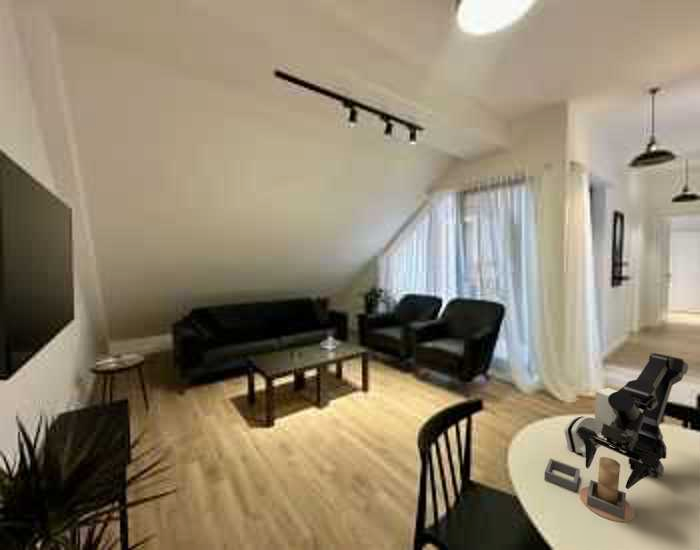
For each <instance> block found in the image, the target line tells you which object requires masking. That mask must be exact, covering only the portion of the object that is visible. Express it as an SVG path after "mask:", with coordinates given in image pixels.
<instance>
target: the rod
mask: <svg viewBox="0 0 700 550" xmlns="http://www.w3.org/2000/svg"><path fill="white" fill-rule="evenodd" d="M598 463H599V464H598V477H597V478H598V479H597V482H598V488H597V498H598V499H601V500H603V501H606V502H608V503H611V504H613V505H616V506H617V497H618V490H619V484H620V483H619V482H620V471H621V464H620V463H619V462H618V461H617V460H616V459H613V458H611V457H606V456H601V457H599V462H598Z"/></svg>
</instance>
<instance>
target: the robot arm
mask: <svg viewBox="0 0 700 550" xmlns="http://www.w3.org/2000/svg"><path fill="white" fill-rule="evenodd" d="M688 369H689V364H688V362H685V359H684V358H680V357H675V356H672V355H671V356H670V355H666V354H661V353H656V352H654V353H653V352H652V353H650V355H649V357H648V361H647V363H646V365H645V366H644V367H643V369H642V371H641V373H640V374H639V375H638V377H637V378H636V379H632V380H630V381H628V382H626V384H625V385H624V386H622V387H621V388H620V389H619V390H617V391H618V392H614V393H612V394H611V395H609V397H608V402H609V404H610V406H611V408H612V410H613V411H614V413H615V415H616V418H615V420H614V422H612V423H611V425H607V424H604V423H603V427H602V430H601V435H603V436H604V438H605V440H604V439H602V438H600V437H598V436H597V434H596V433H595V431H592V430H590V429H588V428H585V427H583V426H581V427H579V428H578V430H577V432H576V433H577V435H578V436H579V438H580V439H581V440H582V442H583V443H584V444H585V450H586V458H585V468H586V469H587V470H588V469H589V468H590V467H591V465H592V463H593V461H594V458H595V455H596V453H597V451H598V450H597V449H598V448H597V449H596V447H595V446H596V445H598V444H599V445H601V446H602V447H604V448H606V449H609V450H610V451H613V452H615V453H617V454H619V455H622V456H623V457H627V458H628V464H629V465H630V467H629V469H631V470H632V471H631V472H630V475H629V476H628V479H627V481H626V483H625V489H627V490H629V489H631V488H632V487H633V486H635V484H637V483H638V482H639V481H642V480H643V479H644V478H647V477H648V476H651V477H653V478H659V477H661V478H662V476H663V474H664V471H665V468H664V466H663V463H662V462H661V459H664V460H665V459H667V445H666V444H665V441H664V440H663V439H664V435H663V433H662V430H661V428H660V425H661V421H662V419H663V415H664V412H665V409H666V406H667V404H668V400H669V397H670V394H671V392H672V388H673V385H675V384H678V383H679V382H681V381H683V377H684V376H685V375H687V372H688V371H689V370H688ZM640 410H642V411H640ZM601 446H600V447H601Z"/></svg>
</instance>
